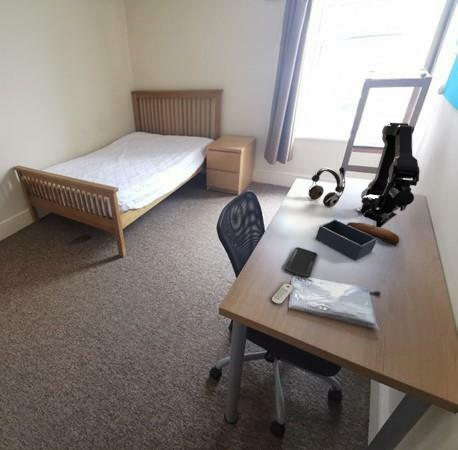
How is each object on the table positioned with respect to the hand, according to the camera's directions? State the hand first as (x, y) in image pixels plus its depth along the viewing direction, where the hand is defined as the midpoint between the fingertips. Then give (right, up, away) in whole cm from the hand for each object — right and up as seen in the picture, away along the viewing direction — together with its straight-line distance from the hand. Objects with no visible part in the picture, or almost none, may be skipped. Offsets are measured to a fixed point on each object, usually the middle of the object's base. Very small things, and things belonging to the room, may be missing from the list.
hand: (377, 227), depth 115 cm
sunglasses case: (-4, -3, -1) cm, 5 cm away
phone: (-39, -13, -14) cm, 44 cm away
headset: (-9, +12, +24) cm, 28 cm away
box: (-19, -7, -7) cm, 22 cm away
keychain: (-52, -21, -27) cm, 62 cm away
